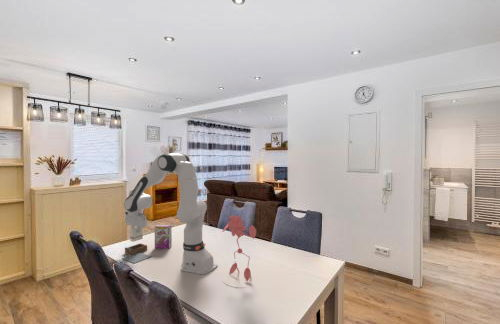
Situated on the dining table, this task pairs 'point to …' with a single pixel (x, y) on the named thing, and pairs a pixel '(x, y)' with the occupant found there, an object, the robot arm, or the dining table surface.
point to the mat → (136, 257)
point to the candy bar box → (163, 236)
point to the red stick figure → (237, 229)
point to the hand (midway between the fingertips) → (136, 231)
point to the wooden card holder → (135, 249)
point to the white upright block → (135, 234)
